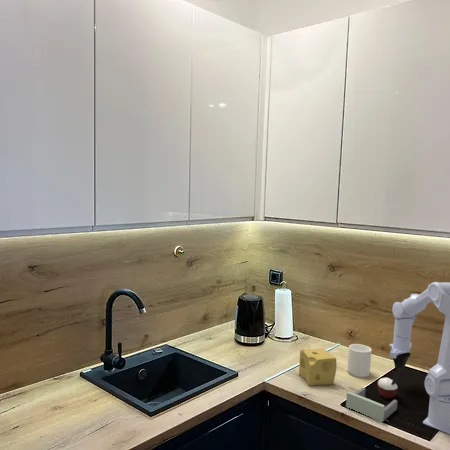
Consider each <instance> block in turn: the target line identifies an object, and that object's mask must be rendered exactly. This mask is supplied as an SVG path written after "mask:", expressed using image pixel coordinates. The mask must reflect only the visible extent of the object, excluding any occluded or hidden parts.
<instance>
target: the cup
mask: <svg viewBox="0 0 450 450" xmlns="http://www.w3.org/2000/svg"><path fill="white" fill-rule="evenodd" d="M371 363H372V348H371V347H370V346H367V345H365V344H362V343H361V344H360V343H352V344H350V345H348V359H347V373H348V374H349V375H351V376H352V377H355V378H360V379H361V378H368V377H369V376H370V374H371Z"/></svg>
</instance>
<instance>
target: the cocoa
mask: <svg viewBox="0 0 450 450" xmlns="http://www.w3.org/2000/svg"><path fill="white" fill-rule="evenodd" d="M401 370H402V368H398V370H397V372H396V373H395V374H394V377H393V379H391V378H389V377H382V378H380V379H379V380H378V381H377V382H376V387H377V390H378V393H379V395H380V396H381V397H382V398H384V399H393V398H394V397H395V396H396V395H397V391H398V385H397V381H398V379H399V377H400V374H401V373H400V372H401Z"/></svg>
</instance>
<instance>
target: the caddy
mask: <svg viewBox="0 0 450 450" xmlns="http://www.w3.org/2000/svg"><path fill="white" fill-rule="evenodd" d="M345 407H347V409H349V408H350V409H349V410H351V409H353V410H355V411H354V412H356V411H357V412H356V413H358V412H360V413H362V414H361V415H363V414H364V415H363V416H365V415H366V416H365V417H367V416H369V417H368V418H370V417H371V418H370V419H372V420H374V419H375V421H377V422H380V423H383V422H384V421H385V420H386V419H388V418H389V417H390V416H391V415H392V414H393V413H394V412H396V411H397V408H398V400H397V399H393V400H392V401H391V402H390V403H388V404H386V405H384V404H382V403H380V402H377V401H375V400H372V399H370V398H367V397H366V388H365V387H362V388H360V389H358V390H357V391H356V392H352V391H347V392H346V401H345ZM353 410H352V411H353ZM360 413H359V414H360Z"/></svg>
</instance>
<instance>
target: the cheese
mask: <svg viewBox="0 0 450 450" xmlns="http://www.w3.org/2000/svg"><path fill="white" fill-rule="evenodd" d="M298 368H299V369H298V371H299V373H298V374H299V375H300V376H301V377H302V378H303V379H305V383H306V384H307V385H308V386H309V387H310V386H312V387H313V386H318V385H319V386H321V385H322V386H323V385H333V384H334V382H335V378H336V372H337V357H335V356H334V355H332V354H331V353H330V352H328V351H327V349H325V348H309V349H308V348H307V349H304V348H303V349H300V351H299V367H298Z"/></svg>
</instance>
